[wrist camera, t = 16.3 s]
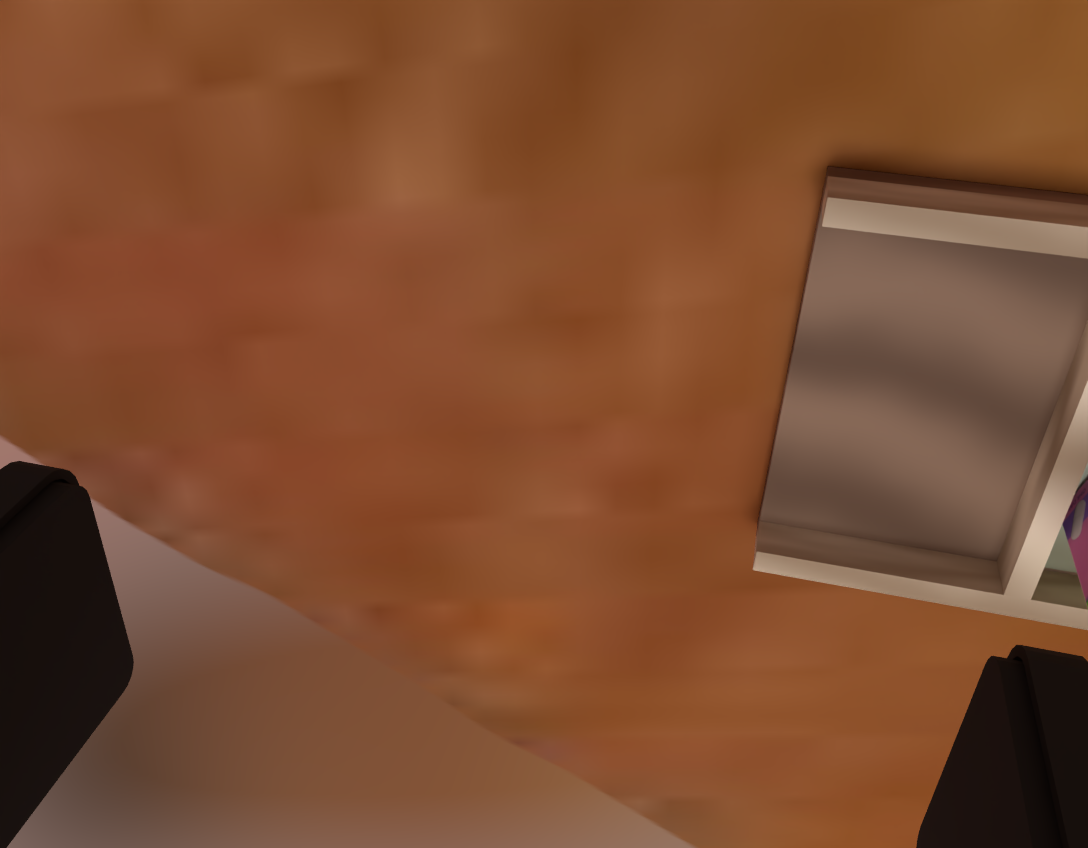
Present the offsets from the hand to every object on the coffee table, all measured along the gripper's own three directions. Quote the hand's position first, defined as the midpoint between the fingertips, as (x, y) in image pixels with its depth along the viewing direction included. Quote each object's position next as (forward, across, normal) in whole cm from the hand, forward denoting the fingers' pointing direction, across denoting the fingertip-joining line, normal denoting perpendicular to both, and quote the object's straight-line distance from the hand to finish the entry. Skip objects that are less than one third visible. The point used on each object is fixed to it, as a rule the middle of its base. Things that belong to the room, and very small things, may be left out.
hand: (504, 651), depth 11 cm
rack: (+28, -14, +12) cm, 34 cm away
